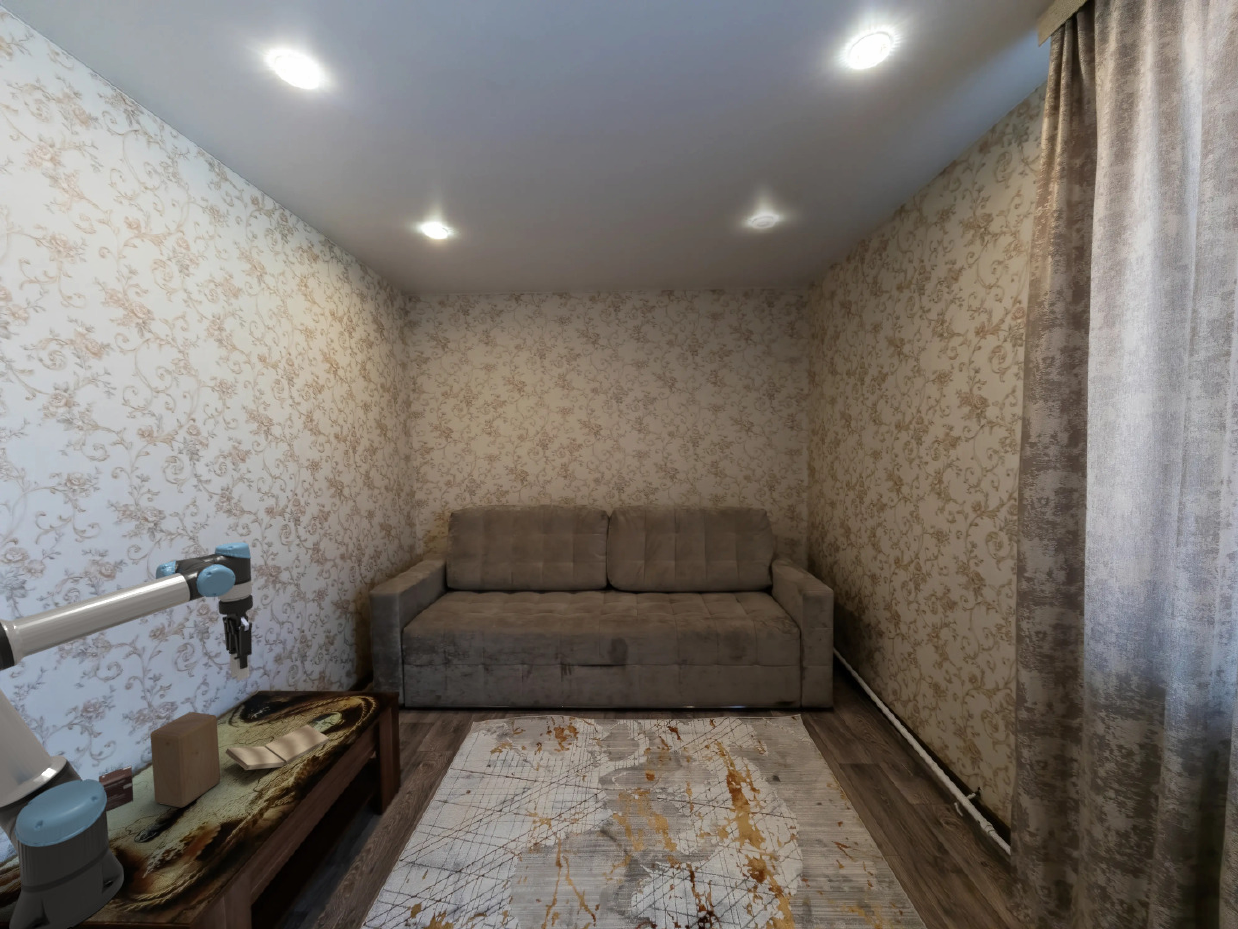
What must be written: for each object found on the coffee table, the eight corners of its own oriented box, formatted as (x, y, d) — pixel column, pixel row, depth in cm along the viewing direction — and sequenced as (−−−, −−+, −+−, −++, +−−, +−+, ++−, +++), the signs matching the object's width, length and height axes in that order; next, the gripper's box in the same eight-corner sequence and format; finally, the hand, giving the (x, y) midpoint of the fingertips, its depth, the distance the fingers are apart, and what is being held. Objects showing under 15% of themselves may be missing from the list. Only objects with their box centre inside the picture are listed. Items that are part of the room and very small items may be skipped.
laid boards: (286, 764, 136) (286, 760, 136) (265, 748, 143) (265, 745, 143) (329, 741, 146) (329, 738, 146) (307, 727, 153) (307, 724, 153)
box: (99, 815, 118) (97, 787, 118) (100, 802, 122) (98, 776, 122) (133, 801, 123) (131, 774, 122) (133, 789, 127) (131, 764, 127)
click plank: (245, 770, 127) (247, 765, 128) (225, 753, 134) (227, 748, 135) (282, 766, 135) (284, 762, 136) (261, 750, 142) (263, 746, 143)
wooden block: (182, 810, 119) (177, 736, 118) (153, 804, 121) (147, 732, 120) (222, 782, 129) (218, 713, 128) (194, 777, 131) (190, 710, 130)
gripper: (263, 597, 130) (268, 678, 131) (239, 589, 138) (244, 664, 139) (231, 606, 123) (236, 690, 124) (207, 596, 131) (212, 675, 133)
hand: (240, 676), depth 132 cm, fingers open, 3 cm apart
